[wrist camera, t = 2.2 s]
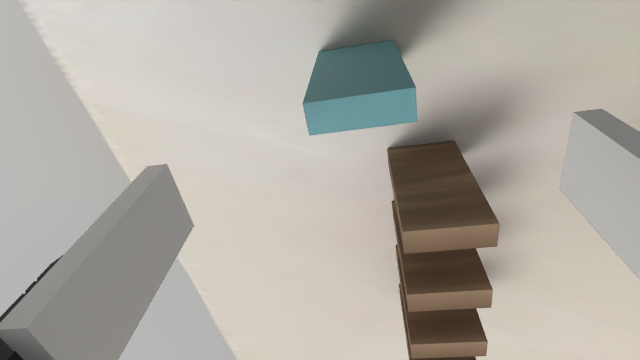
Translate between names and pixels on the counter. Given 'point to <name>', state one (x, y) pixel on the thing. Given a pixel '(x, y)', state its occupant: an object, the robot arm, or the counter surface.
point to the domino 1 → (359, 89)
